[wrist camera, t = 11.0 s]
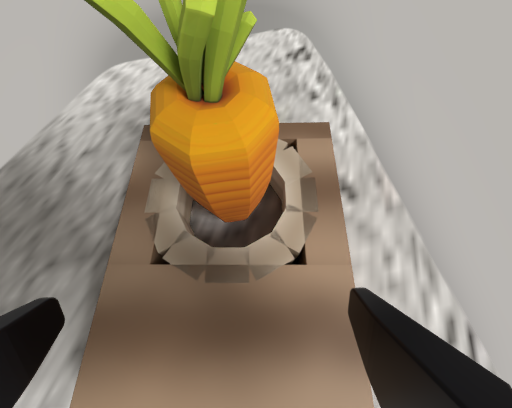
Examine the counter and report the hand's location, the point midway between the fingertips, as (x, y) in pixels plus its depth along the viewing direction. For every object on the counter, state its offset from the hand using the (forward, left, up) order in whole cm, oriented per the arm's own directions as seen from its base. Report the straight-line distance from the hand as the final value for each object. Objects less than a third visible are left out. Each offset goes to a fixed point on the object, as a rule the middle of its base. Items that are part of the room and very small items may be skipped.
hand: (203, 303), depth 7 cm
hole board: (+4, 0, -9) cm, 10 cm away
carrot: (+7, 0, -9) cm, 11 cm away
